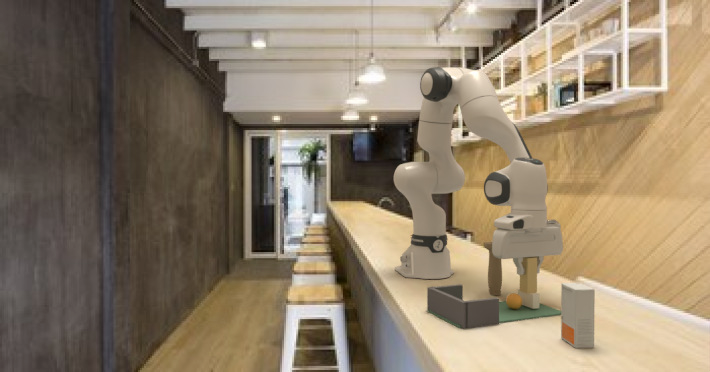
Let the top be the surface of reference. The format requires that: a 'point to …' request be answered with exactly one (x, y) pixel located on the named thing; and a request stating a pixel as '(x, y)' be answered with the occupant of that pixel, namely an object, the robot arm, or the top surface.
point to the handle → (494, 272)
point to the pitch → (516, 313)
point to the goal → (462, 307)
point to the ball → (514, 301)
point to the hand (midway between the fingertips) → (528, 273)
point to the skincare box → (577, 315)
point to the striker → (529, 283)
